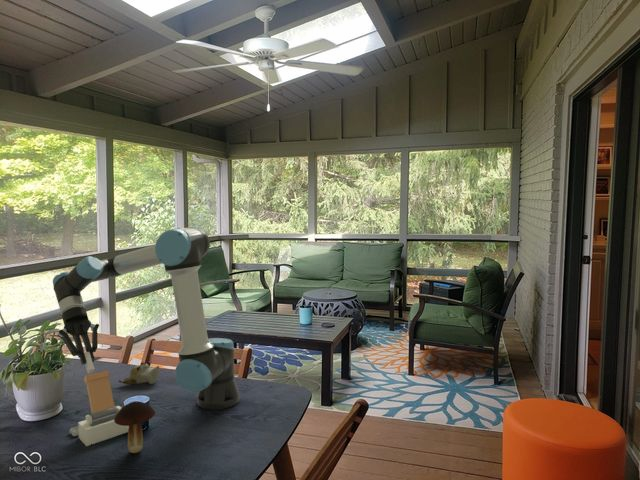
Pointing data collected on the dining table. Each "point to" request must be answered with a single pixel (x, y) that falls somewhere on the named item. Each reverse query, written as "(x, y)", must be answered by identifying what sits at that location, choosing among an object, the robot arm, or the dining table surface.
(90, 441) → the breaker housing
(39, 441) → the dining table surface
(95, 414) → the lever
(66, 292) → the robot arm
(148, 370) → the ceramic sculpture
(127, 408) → the decorative mushroom
